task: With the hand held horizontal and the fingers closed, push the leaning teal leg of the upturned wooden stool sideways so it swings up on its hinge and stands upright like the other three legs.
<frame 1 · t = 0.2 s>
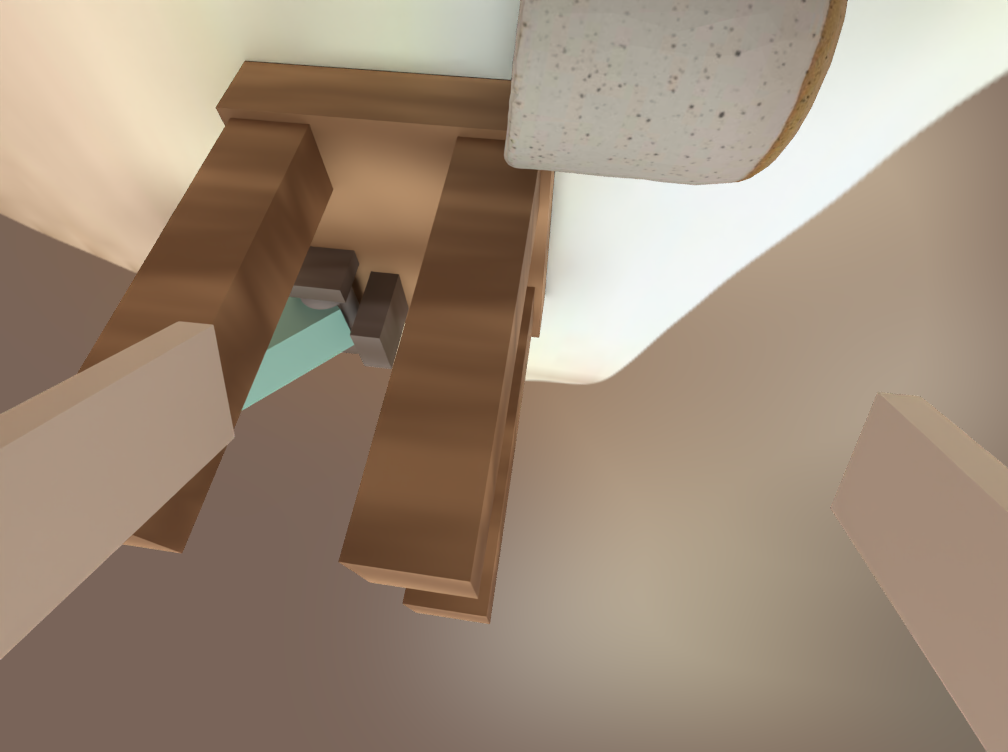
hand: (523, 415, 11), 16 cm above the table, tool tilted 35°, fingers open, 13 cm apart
hinged leg: (222, 369, 27), point 9 cm above the table, hinge at 45.0°
upturned wooden stool: (423, 201, 28), on the table
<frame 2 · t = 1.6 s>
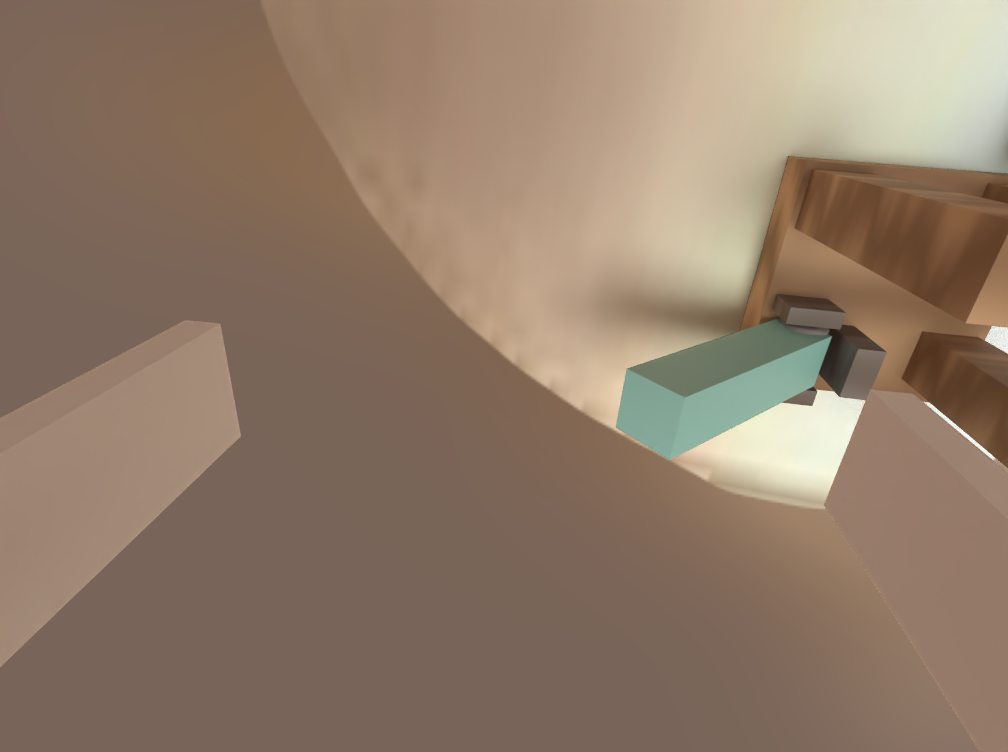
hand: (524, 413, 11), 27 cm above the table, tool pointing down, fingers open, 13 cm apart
hinged leg: (738, 375, 29), point 9 cm above the table, hinge at 45.0°
upturned wooden stool: (861, 278, 35), on the table
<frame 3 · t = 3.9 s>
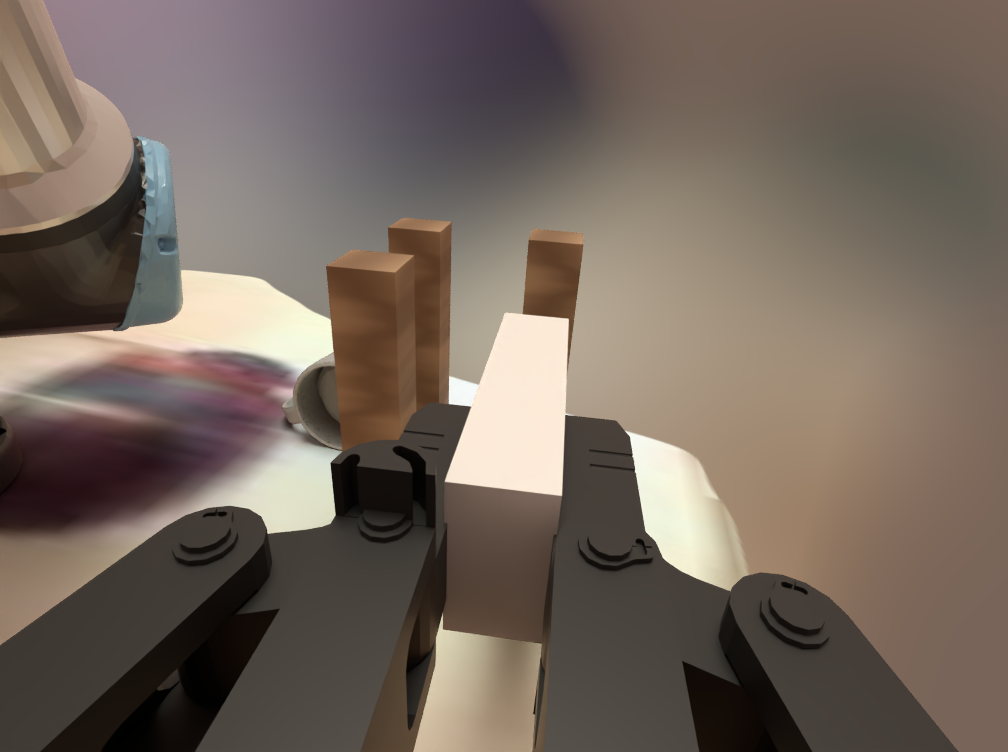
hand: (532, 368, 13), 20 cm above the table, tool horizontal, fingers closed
upturned wooden stool: (473, 513, 38), on the table
ceramic mug: (346, 427, 47), on the table
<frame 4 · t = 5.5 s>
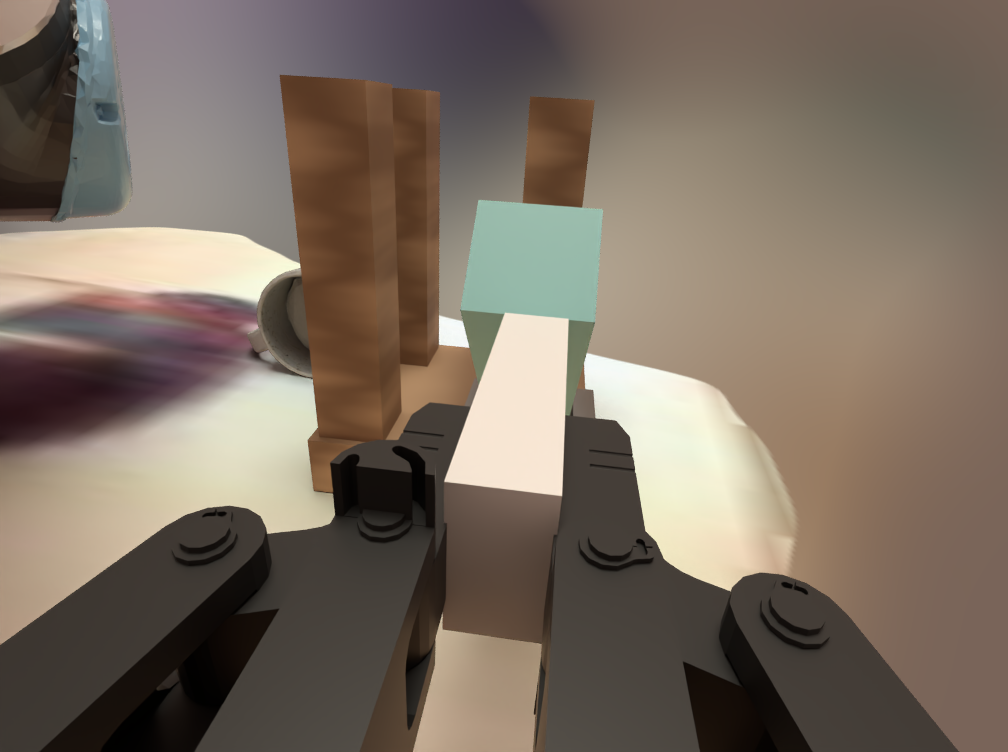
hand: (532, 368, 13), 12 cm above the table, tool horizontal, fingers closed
hinged leg: (531, 369, 21), point 9 cm above the table, hinge at 43.9°, touching gripper
upturned wooden stool: (467, 436, 33), on the table
ceramic mug: (320, 359, 42), on the table
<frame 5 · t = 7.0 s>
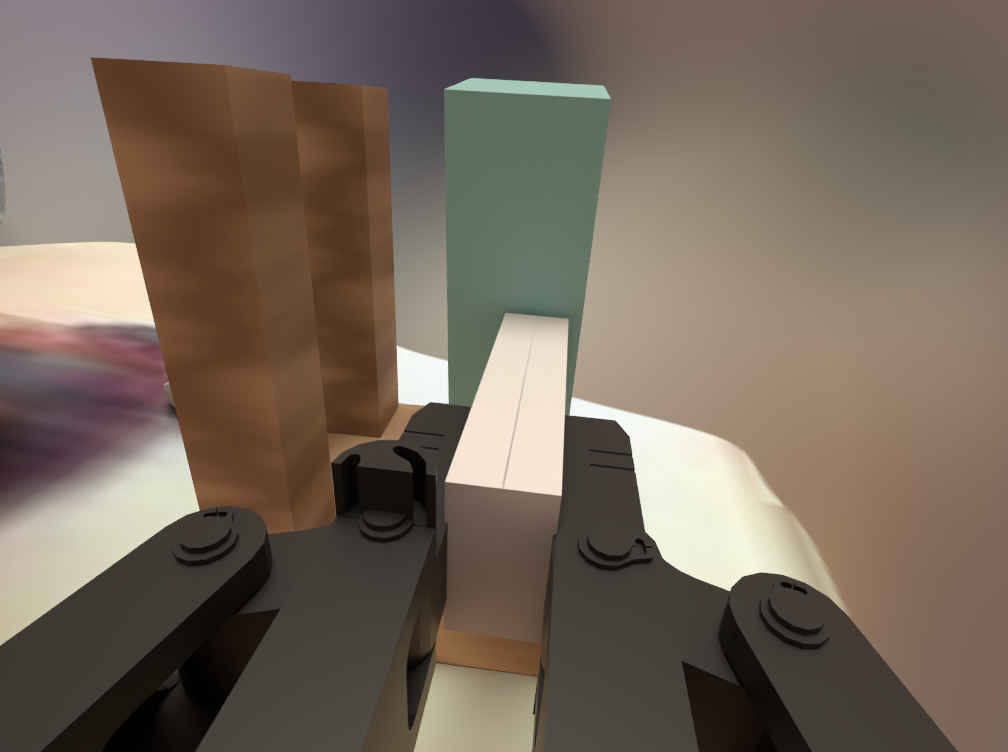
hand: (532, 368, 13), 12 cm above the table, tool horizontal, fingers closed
hinged leg: (513, 383, 16), point 11 cm above the table, hinge at 6.3°, touching gripper
upturned wooden stool: (429, 532, 25), on the table
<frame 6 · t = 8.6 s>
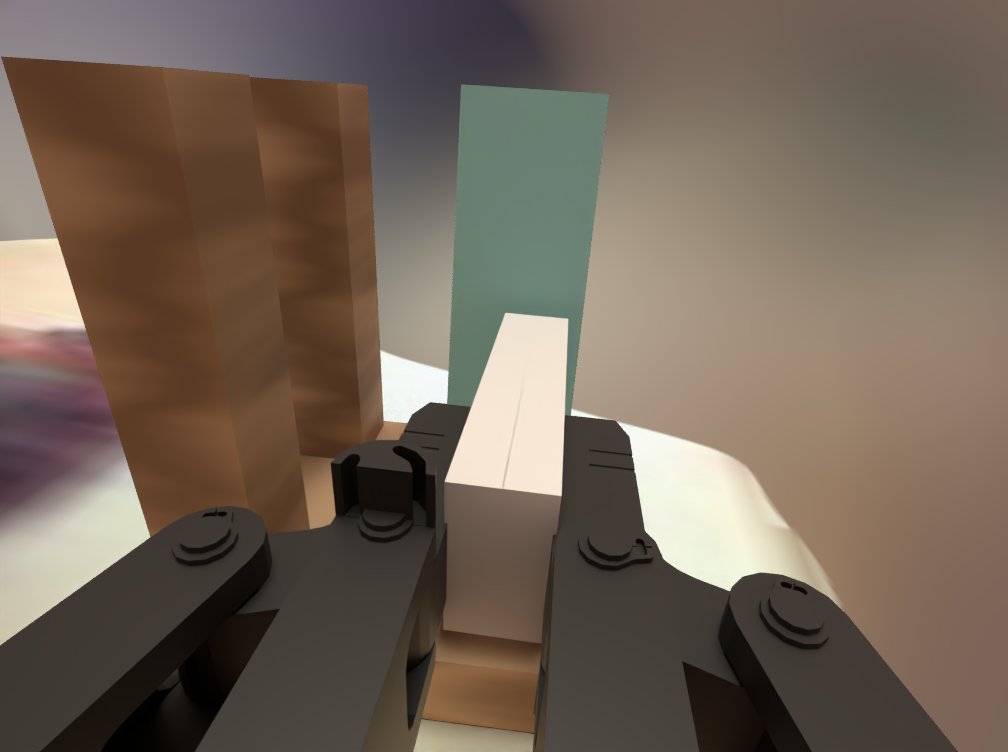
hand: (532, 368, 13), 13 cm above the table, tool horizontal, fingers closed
hinged leg: (512, 396, 16), point 11 cm above the table, hinge at -9.0°, touching gripper, upturned wooden stool
upturned wooden stool: (416, 563, 24), on the table
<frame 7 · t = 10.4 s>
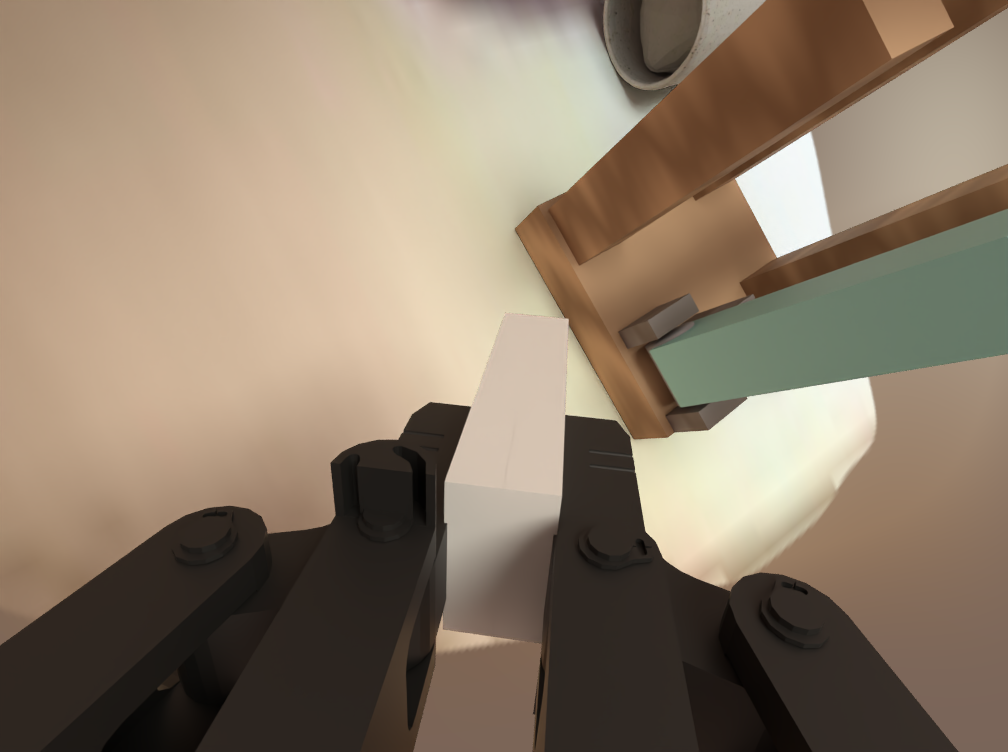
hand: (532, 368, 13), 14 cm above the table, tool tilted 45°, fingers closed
hinged leg: (799, 334, 21), point 11 cm above the table, hinge at -3.6°
upturned wooden stool: (654, 286, 33), on the table
ceramic mug: (642, 36, 36), on the table
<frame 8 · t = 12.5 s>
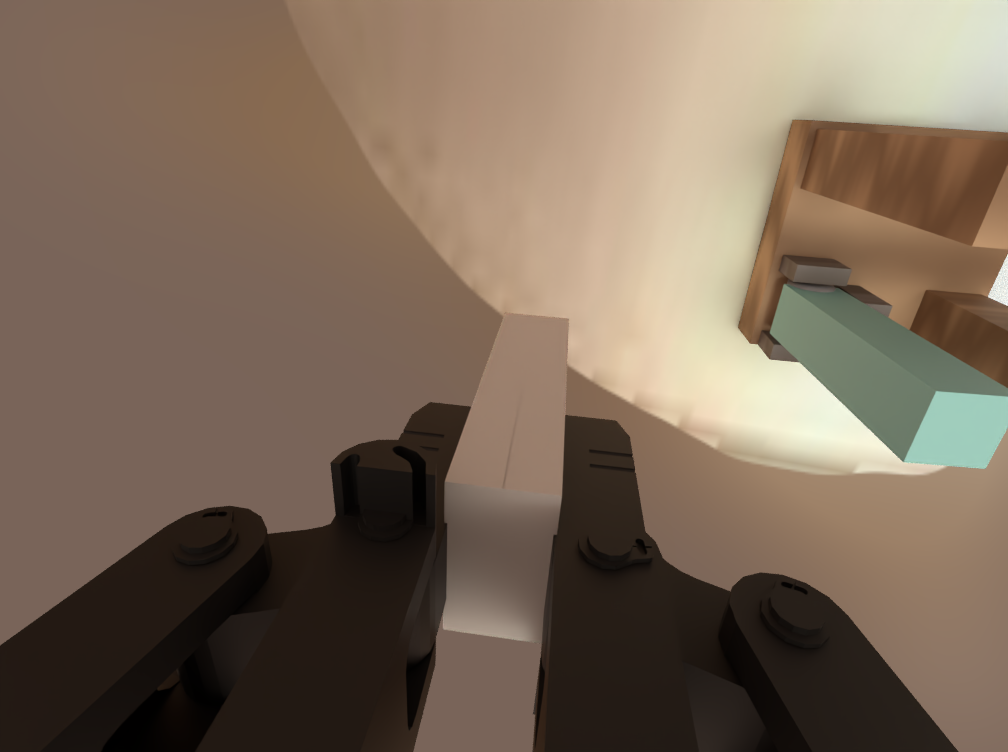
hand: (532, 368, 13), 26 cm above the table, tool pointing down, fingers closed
hinged leg: (857, 352, 28), point 11 cm above the table, hinge at -3.6°
upturned wooden stool: (865, 240, 35), on the table
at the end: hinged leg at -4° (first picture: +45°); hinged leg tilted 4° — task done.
